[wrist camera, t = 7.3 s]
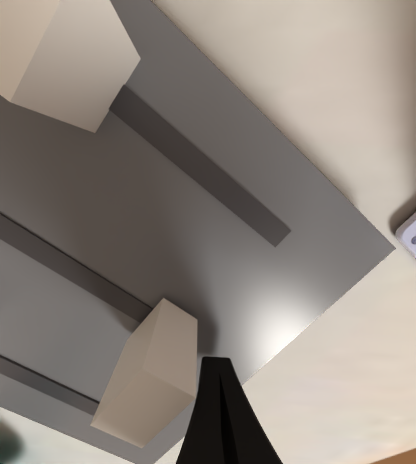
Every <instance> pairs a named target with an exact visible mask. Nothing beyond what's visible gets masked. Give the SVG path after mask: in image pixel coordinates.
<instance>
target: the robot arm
mask: <svg viewBox="0 0 416 464" xmlns="http://www.w3.org/2000/svg"><path fill="white" fill-rule="evenodd" d="M396 238H397V240H398V241H399V242H400V243H401V244H402V245H403V246H404V247H405V248H406V249H407V250H408V251H409V252H410V253H411V254H412V255H413V256H414V257H415V258H416V212H415V213H414V214H413V215H412V216H411V217H410V218H409V219H408V220H406V221H405V222H404V223H403V224H402V225H401V226H400V227H399V228H398V229H397V231H396ZM412 238H413V239H412ZM411 240H412V241H411ZM176 464H283V463H282V462H281V460H280V458H279V457H278V455H277V453H276V452H275V450H274V448H273V446H272V445H271V443H270V441H269V439H268V438H267V436H266V434H265V432H264V430H263V429H262V427H261V425H260V423H259V421H258V419H257V417H256V415H255V413H254V412H253V409H252V407H251V405H250V403H249V401H248V399H247V397H246V395H245V393H244V391H243V389H242V386H241V384H240V382H239V379H238V377H237V375H236V372H235V370H234V367H233V364H232V361H231V359H230V358H227V357H209V356H204V357H203V358H202V361H201V368H200V376H199V383H198V392H197V396H196V401H195V405H194V408H193V412H192V415H191V419H190V422H189V426H188V429H187V432H186V435H185V438H184V441H183V444H182V447H181V450H180V453H179V456H178V459H177V462H176Z"/></svg>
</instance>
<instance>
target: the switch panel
mask: <svg viewBox="0 0 416 464" xmlns="http://www.w3.org/2000/svg"><path fill="white" fill-rule="evenodd" d="M395 249H396V248H395V247H394V246H393V245H392V244H391V243H390V242H389V241H388V240H387V239H386V238H385V237H384V236H383V235H382V234H381V233H380V232H379V231H378V230H377V229H376V228H375V227H374V226H373V225H372V224H371V223H370V222H369V221H368V219H367V218H366V217H365V216H364V215H363V214H362V213H361V212H360V211H359V210H358V209H357V208H356V207H355V206H354V205H353V204H352V203H351V202H350V201H349V200H348V199H347V198H346V197H345V196H344V195H343V194H342V193H341V192H340V191H339V190H338V189H337V188H336V187H335V186H334V185H333V184H332V183H331V182H330V181H329V180H328V179H327V178H326V177H325V176H324V175H323V174H322V173H321V172H320V171H319V170H318V169H317V168H316V167H315V166H314V165H313V164H312V163H311V162H310V161H309V160H308V159H307V158H306V157H305V156H304V155H303V154H302V153H301V152H300V151H299V150H298V149H297V148H296V147H295V146H294V145H293V144H292V143H291V142H290V141H289V140H288V139H287V138H286V137H285V136H284V135H283V134H282V133H281V132H280V131H279V130H278V129H277V128H276V127H275V126H274V125H273V124H272V123H271V122H270V120H269V119H268V118H267V117H266V116H265V115H264V114H263V113H262V112H261V111H260V110H259V109H258V108H257V107H256V106H255V105H254V104H253V103H252V102H251V101H250V100H249V99H248V98H247V97H246V96H245V95H244V94H243V93H242V92H241V91H240V90H239V89H238V88H237V87H236V86H235V85H234V84H233V83H232V82H231V81H230V80H229V79H228V78H227V77H226V76H225V75H224V74H223V73H222V72H221V71H220V70H219V69H218V68H217V67H216V66H215V65H214V64H213V63H212V62H211V61H210V60H209V59H208V58H207V57H206V56H205V55H204V54H203V53H202V52H201V51H200V50H199V49H198V48H197V47H196V46H195V45H194V44H193V43H192V42H191V41H190V40H189V39H188V38H187V37H186V36H185V35H184V34H183V33H182V32H181V31H180V30H179V29H178V28H177V27H176V26H175V25H174V24H173V23H172V21H171V20H170V19H169V18H168V17H167V16H166V15H165V14H164V13H163V12H162V11H161V10H160V9H159V8H158V7H157V6H156V5H155V4H154V3H153V2H152V1H151V0H0V407H2V408H4V409H7V410H9V411H12V412H14V413H16V414H19V415H21V416H23V417H26V418H28V419H30V420H33V421H35V422H38V423H40V424H42V425H45V426H47V427H49V428H52V429H54V430H57V431H59V432H61V433H64V434H66V435H68V436H71V437H73V438H76V439H78V440H80V441H83V442H85V443H87V444H90V445H92V446H94V447H97V448H99V449H102V450H104V451H106V452H109V453H111V454H113V455H116V456H118V457H121V458H123V459H125V460H128V461H130V462H132V463H135V464H154V463H155V462H156V461H157V460H158V459H160V458H161V457H162V456H163V455H164V454H165V453H166V452H167V451H169V450H170V449H171V448H172V447H173V446H174V445H175V444H176V443H178V442H179V441H180V440H181V439H182V438H183V437H184V436H185V435H186V432H187V429H188V426H189V422H190V419H191V415H192V412H193V408H194V405H195V401H196V398H195V399H194V400H193V401H192V402H191V403H190V404H189V405H188V406H187V407H186V408H185V409H184V410H183V411H181V412H180V413H179V414H178V415H177V416H176V417H175V418H174V419H173V420H172V421H171V422H170V423H169V424H168V425H166V426H165V427H164V428H163V429H162V430H161V431H160V432H159V433H158V434H157V435H156V436H155V437H154V438H153V439H151V440H150V441H149V442H148V443H147V444H146V445H145V446H144V447H143V448H140V447H138V446H135V445H133V444H131V443H129V442H126V441H124V440H122V439H120V438H117V437H115V436H113V435H111V434H108V433H106V432H104V431H102V430H99V429H97V428H95V427H93V426H90V424H91V422H92V420H93V417H94V415H95V413H96V411H97V408H98V406H99V404H100V401H101V399H102V397H103V394H104V392H105V390H106V387H107V385H108V383H109V381H110V378H111V376H112V374H113V371H114V369H115V367H116V364H117V362H118V360H119V358H120V355H121V353H122V351H123V348H124V346H125V344H126V341H127V339H128V338H129V337H130V336H131V335H132V333H133V332H134V331H135V330H136V329H137V328H138V326H139V325H140V324H141V323H142V322H143V321H144V320H145V318H146V317H147V316H148V315H149V314H150V313H151V311H152V310H153V309H154V308H155V307H156V306H157V305H158V303H159V302H160V301H161V300H162V299H163V298H165V299H166V300H168V301H170V302H171V303H173V304H174V305H176V306H177V307H179V308H180V309H182V310H183V311H185V312H186V313H188V314H190V315H191V316H193V317H194V318H196V319H197V372H196V396H197V392H198V383H199V376H200V368H201V361H202V358H203V357H204V356H209V357H227V358H230V359H231V361H232V364H233V367H234V370H235V372H236V375H237V377H238V379H239V382H240V384H241V386H242V385H243V384H244V383H245V382H246V381H247V380H248V379H250V378H251V377H252V376H253V375H254V374H255V373H256V372H257V371H259V370H260V369H261V368H262V367H263V366H264V365H265V364H266V363H268V362H269V361H270V360H271V359H272V358H273V357H274V356H275V355H277V354H278V353H279V352H280V351H281V350H282V349H283V348H284V347H286V346H287V345H288V344H289V343H290V342H291V341H292V340H293V339H295V338H296V337H297V336H298V335H299V334H300V333H301V332H302V331H304V330H305V329H306V328H307V327H308V326H309V325H310V324H311V323H313V322H314V321H315V320H316V319H317V318H318V317H319V316H320V315H322V314H323V313H324V312H325V311H326V310H327V309H328V308H329V307H330V306H332V305H333V304H334V303H335V302H336V301H337V300H338V299H339V298H341V297H342V296H343V295H344V294H345V293H346V292H347V291H348V290H350V289H351V288H352V287H353V286H354V285H355V284H356V283H357V282H359V281H360V280H361V279H362V278H363V277H364V276H365V275H366V274H368V273H369V272H370V271H371V270H372V269H373V268H374V267H375V266H377V265H378V264H379V263H380V262H381V261H382V260H383V259H384V258H386V257H387V256H388V255H389V254H390V253H391V252H392V251H393V250H395Z"/></svg>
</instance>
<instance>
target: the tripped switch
mask: <svg viewBox="0 0 416 464" xmlns="http://www.w3.org/2000/svg"><path fill="white" fill-rule="evenodd" d="M196 372H197V319H196V318H194V317H193V316H191V315H190V314H188V313H186V312H185V311H183V310H182V309H180V308H179V307H177V306H176V305H174V304H173V303H171V302H170V301H168V300H166V299H165V298H163V299H162V300H161V301H160V302H159V303H158V305H157V306H156V307H155V308H154V309H153V310H152V311H151V313H150V314H149V315H148V316H147V317H146V318H145V320H144V321H143V322H142V323H141V324H140V325H139V326H138V328H137V329H136V330H135V331H134V332H133V333H132V335H131V336H130V337H129V338H128V339H127V341H126V344H125V346H124V348H123V351H122V353H121V355H120V358H119V360H118V362H117V364H116V367H115V369H114V371H113V374H112V376H111V378H110V381H109V383H108V385H107V387H106V390H105V392H104V394H103V397H102V399H101V401H100V404H99V406H98V408H97V411H96V413H95V415H94V417H93V420H92V422H91V424H90V426H93V427H95V428H97V429H99V430H102V431H104V432H106V433H108V434H111V435H113V436H115V437H117V438H120V439H122V440H124V441H126V442H129V443H131V444H133V445H135V446H138V447H140V448H143V447H144V446H145V445H146V444H147V443H148V442H149V441H150V440H151V439H153V438H154V437H155V436H156V435H157V434H158V433H159V432H160V431H161V430H162V429H163V428H164V427H165V426H166V425H168V424H169V423H170V422H171V421H172V420H173V419H174V418H175V417H176V416H177V415H178V414H179V413H180V412H181V411H183V410H184V409H185V408H186V407H187V406H188V405H189V404H190V403H191V402H192V401H193V400H194V399H195V398H196Z"/></svg>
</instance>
